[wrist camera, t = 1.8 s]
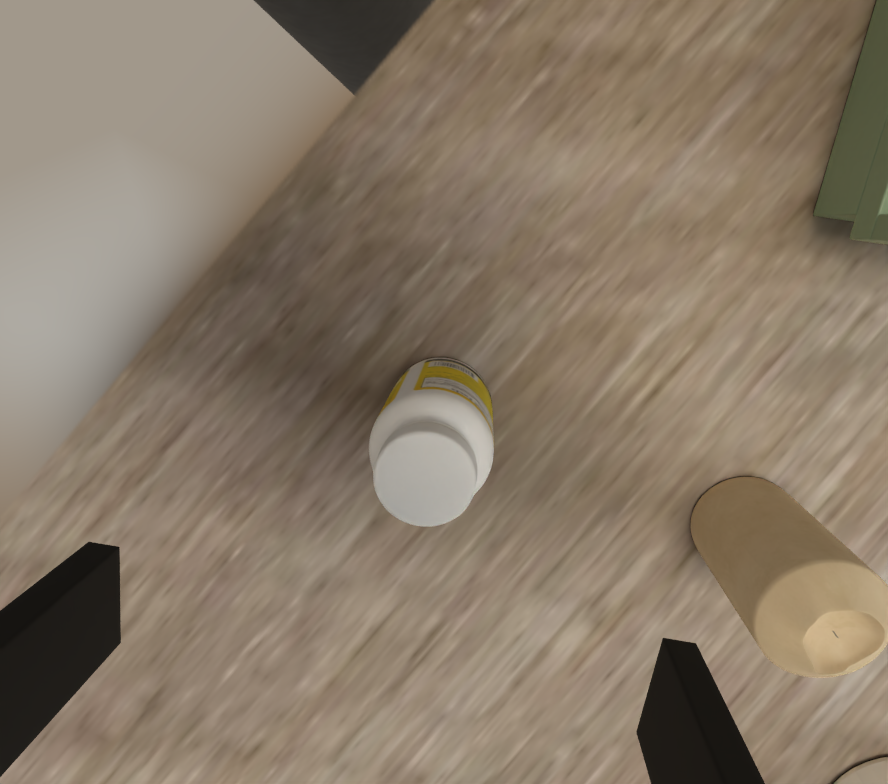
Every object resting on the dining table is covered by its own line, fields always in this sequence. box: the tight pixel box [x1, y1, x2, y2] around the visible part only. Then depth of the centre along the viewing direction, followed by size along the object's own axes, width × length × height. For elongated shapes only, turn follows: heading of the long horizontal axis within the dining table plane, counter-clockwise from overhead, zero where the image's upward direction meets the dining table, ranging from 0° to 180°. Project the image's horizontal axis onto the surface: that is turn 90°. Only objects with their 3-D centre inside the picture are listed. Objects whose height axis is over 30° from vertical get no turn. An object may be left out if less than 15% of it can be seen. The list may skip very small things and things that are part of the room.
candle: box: [691, 477, 888, 678], centre depth 28 cm, size 6×6×10 cm
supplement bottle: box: [369, 358, 494, 527], centre depth 27 cm, size 5×5×10 cm
